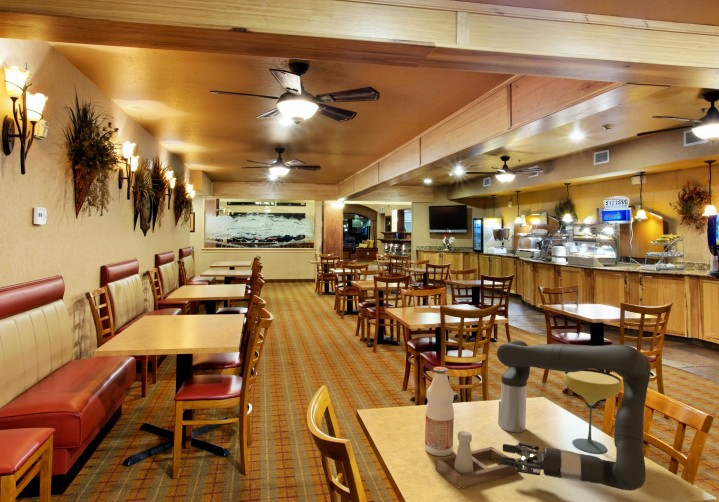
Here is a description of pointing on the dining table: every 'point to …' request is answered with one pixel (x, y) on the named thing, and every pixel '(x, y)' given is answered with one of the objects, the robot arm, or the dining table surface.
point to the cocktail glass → (592, 398)
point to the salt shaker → (464, 454)
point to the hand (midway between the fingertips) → (502, 453)
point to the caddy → (475, 468)
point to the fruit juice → (439, 415)
